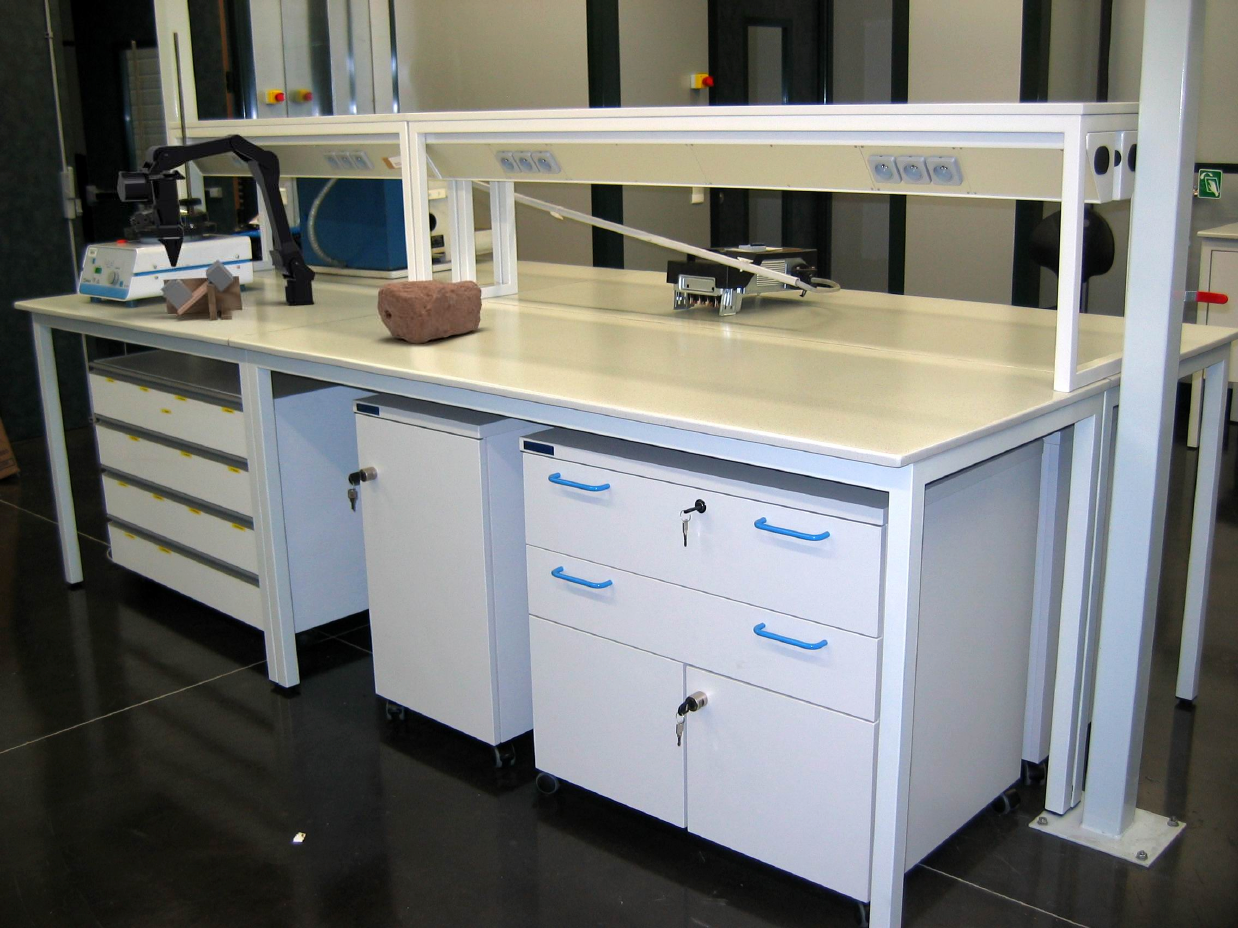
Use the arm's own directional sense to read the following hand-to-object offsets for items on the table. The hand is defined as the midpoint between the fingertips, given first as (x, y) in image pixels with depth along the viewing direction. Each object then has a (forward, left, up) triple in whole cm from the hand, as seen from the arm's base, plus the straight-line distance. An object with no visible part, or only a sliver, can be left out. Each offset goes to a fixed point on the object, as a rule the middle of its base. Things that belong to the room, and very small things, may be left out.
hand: (173, 265), depth 277 cm
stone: (-55, +53, -13) cm, 77 cm away
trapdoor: (-7, +1, -8) cm, 11 cm away
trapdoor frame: (-6, +1, -13) cm, 14 cm away
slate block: (-2, +1, -9) cm, 9 cm away
